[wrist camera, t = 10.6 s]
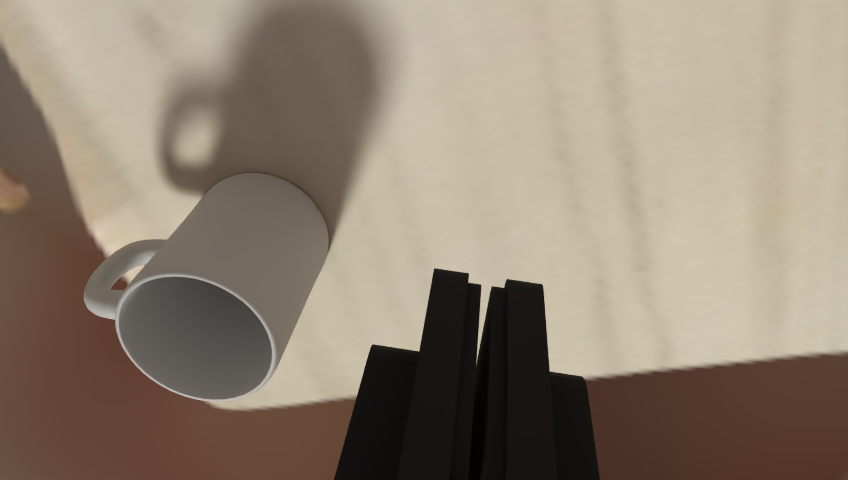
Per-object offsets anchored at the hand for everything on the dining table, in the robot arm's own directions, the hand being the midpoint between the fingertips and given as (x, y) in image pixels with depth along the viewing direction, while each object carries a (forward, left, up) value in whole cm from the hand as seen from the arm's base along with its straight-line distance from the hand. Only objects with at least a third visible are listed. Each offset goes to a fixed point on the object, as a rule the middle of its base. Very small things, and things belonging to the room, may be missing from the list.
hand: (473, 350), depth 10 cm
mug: (+16, -14, -27) cm, 35 cm away
